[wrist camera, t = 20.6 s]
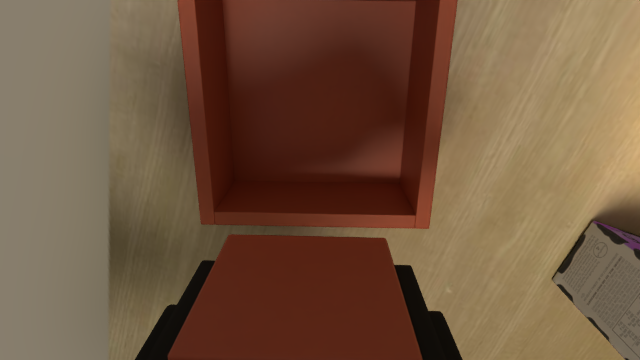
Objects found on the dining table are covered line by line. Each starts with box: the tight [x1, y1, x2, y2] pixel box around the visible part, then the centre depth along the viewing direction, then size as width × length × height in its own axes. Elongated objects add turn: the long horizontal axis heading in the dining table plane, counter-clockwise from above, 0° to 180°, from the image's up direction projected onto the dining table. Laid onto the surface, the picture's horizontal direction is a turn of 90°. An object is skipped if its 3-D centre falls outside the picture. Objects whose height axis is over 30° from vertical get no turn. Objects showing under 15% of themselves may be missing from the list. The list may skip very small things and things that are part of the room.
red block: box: [168, 234, 423, 360], centre depth 9 cm, size 4×4×4 cm
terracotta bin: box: [178, 0, 457, 229], centre depth 22 cm, size 13×13×6 cm
